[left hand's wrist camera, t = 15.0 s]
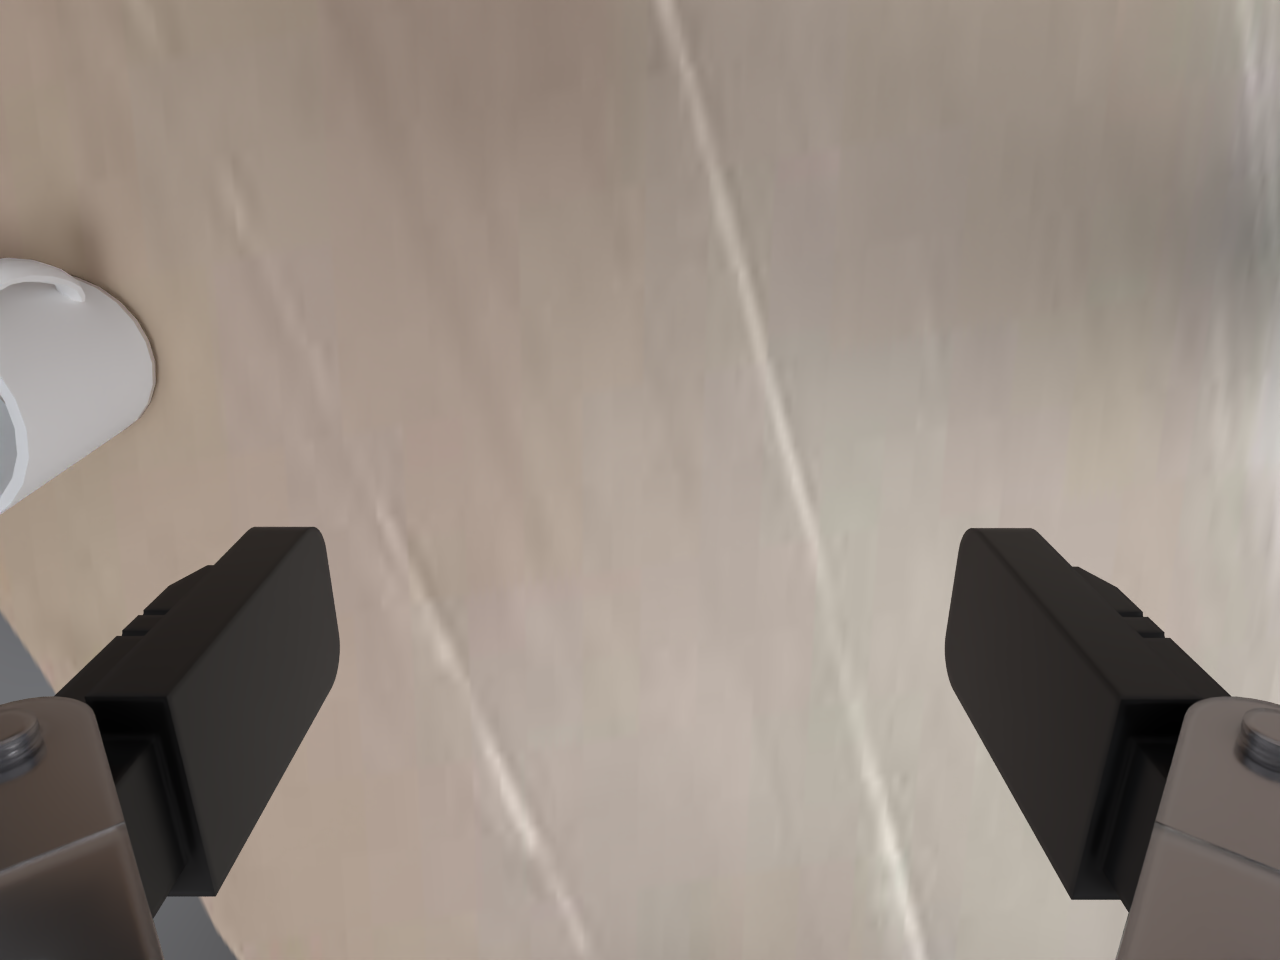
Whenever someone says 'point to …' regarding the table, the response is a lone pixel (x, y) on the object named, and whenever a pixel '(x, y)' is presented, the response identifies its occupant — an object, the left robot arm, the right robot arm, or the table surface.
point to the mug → (63, 373)
